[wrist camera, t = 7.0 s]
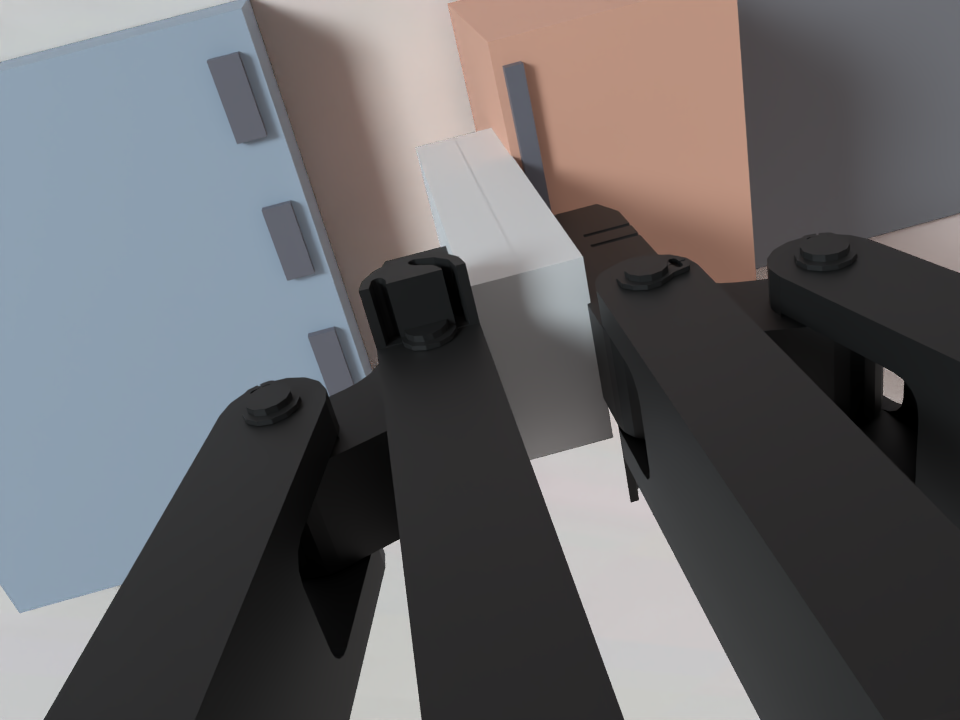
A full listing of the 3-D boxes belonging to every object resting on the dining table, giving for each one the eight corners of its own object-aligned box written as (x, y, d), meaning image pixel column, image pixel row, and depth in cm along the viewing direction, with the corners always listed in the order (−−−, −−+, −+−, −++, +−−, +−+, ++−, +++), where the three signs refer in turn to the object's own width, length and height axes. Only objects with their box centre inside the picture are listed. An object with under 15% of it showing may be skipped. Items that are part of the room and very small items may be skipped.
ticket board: (39, 564, 23) (17, 618, 22) (-241, 125, 17) (-304, 151, 16) (403, 463, 24) (409, 509, 22) (248, -3, 18) (240, 9, 16)
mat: (713, 276, 22) (716, 279, 22) (670, -170, 17) (673, -170, 17) (973, 205, 23) (977, 207, 22) (1003, -256, 18) (1010, -258, 18)
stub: (506, 266, 21) (557, 372, 16) (447, 3, 18) (489, 44, 13) (668, 223, 21) (763, 316, 16) (636, -46, 18) (741, -22, 13)
